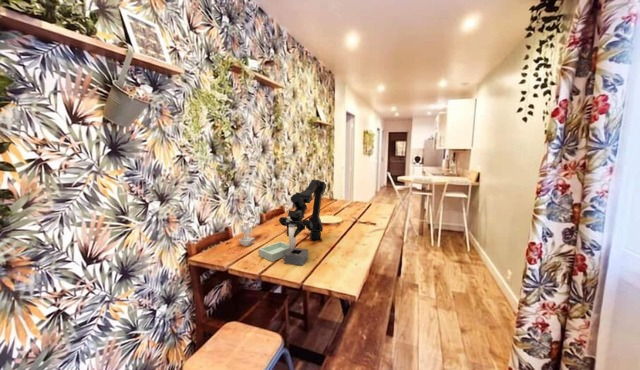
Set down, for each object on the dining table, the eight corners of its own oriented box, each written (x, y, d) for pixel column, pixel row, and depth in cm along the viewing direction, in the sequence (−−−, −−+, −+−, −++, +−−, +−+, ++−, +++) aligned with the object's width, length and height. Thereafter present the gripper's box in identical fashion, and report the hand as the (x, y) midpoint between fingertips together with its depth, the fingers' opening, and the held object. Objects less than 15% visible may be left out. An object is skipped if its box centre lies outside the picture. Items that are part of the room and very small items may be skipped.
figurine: (256, 242, 166) (255, 220, 164) (246, 247, 157) (245, 224, 155) (247, 241, 169) (246, 218, 167) (237, 246, 160) (236, 222, 158)
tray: (280, 247, 158) (280, 241, 158) (293, 252, 150) (293, 246, 150) (258, 255, 146) (258, 248, 146) (272, 261, 139) (271, 254, 138)
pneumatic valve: (295, 234, 183) (295, 217, 181) (283, 231, 190) (283, 215, 188) (300, 232, 188) (300, 216, 186) (289, 229, 194) (288, 213, 193)
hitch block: (291, 255, 146) (291, 247, 146) (308, 258, 144) (308, 249, 143) (284, 263, 137) (284, 254, 136) (301, 265, 134) (301, 256, 133)
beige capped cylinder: (294, 246, 143) (294, 223, 141) (296, 248, 139) (296, 225, 138) (288, 246, 141) (287, 224, 139) (289, 249, 138) (289, 225, 136)
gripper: (280, 202, 144) (269, 227, 135) (310, 205, 137) (302, 231, 129) (286, 213, 152) (277, 237, 144) (316, 216, 146) (308, 241, 137)
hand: (290, 236), depth 138 cm, fingers closed on beige capped cylinder, 4 cm apart
